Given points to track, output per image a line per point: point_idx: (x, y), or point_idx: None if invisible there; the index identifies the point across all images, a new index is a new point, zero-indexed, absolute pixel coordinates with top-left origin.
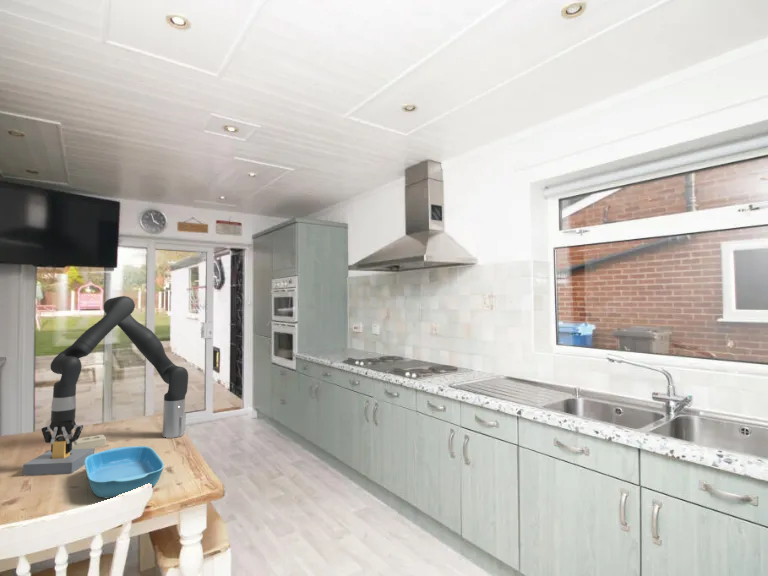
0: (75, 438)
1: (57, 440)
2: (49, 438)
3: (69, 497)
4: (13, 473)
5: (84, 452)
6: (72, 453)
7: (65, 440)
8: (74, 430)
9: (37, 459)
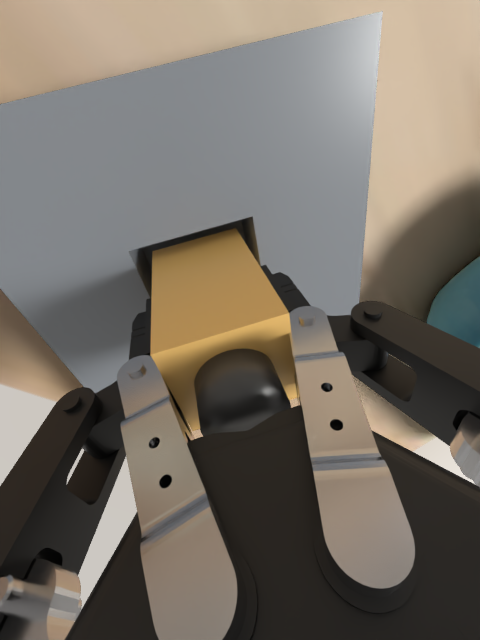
0: (400, 374)
1: (185, 392)
2: (87, 442)
3: (406, 422)
4: (35, 373)
5: (339, 179)
6: (250, 217)
7: (277, 372)
8: (461, 469)
9: (106, 367)
